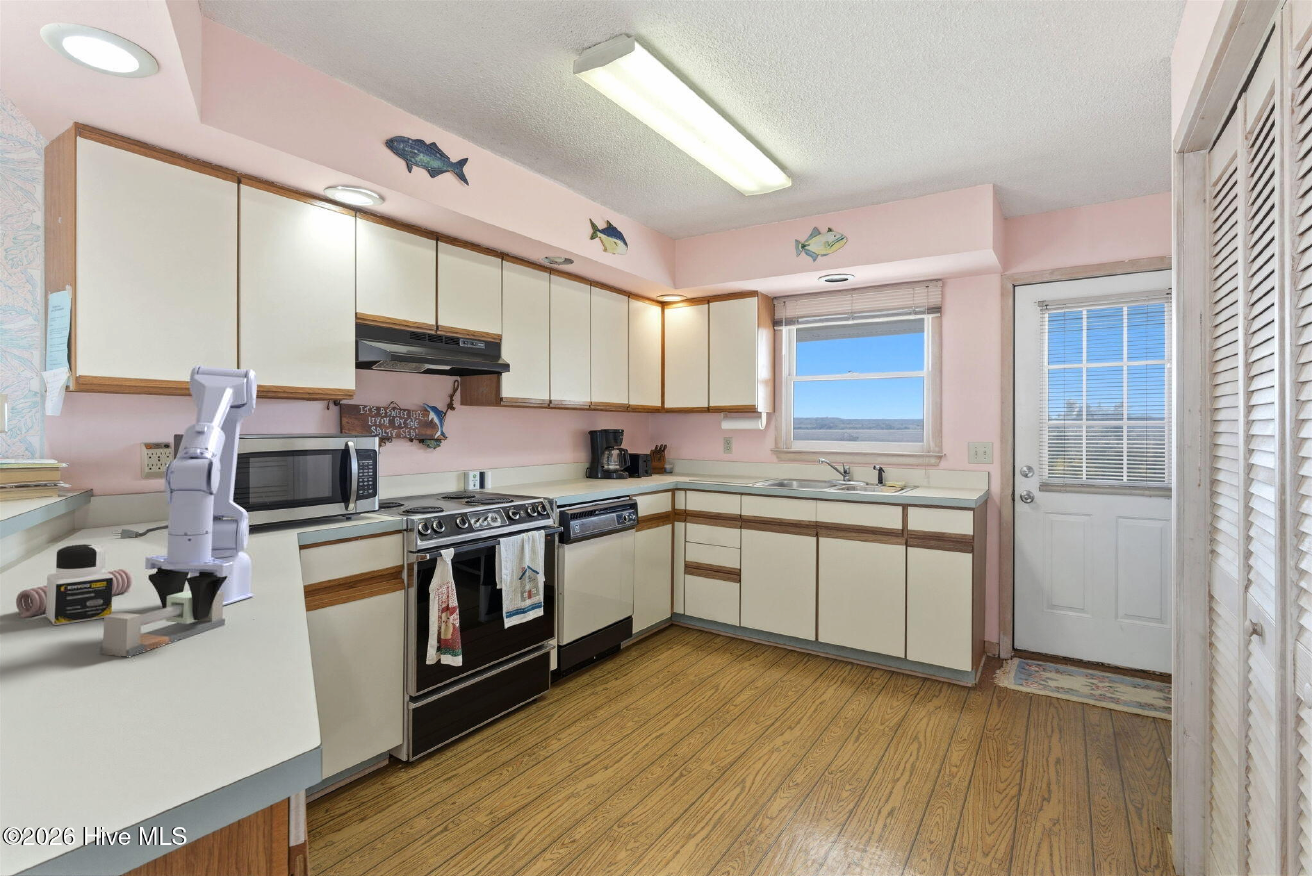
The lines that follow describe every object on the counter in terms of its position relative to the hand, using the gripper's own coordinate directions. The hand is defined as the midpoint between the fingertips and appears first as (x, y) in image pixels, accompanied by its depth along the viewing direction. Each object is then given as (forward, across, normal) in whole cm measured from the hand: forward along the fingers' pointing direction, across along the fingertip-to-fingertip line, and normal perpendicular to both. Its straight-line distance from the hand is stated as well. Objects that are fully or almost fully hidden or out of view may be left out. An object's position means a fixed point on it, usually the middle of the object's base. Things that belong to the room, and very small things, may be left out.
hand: (186, 616), depth 100 cm
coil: (+3, -30, +7) cm, 31 cm away
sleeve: (0, 0, 0) cm, 0 cm away
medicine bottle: (+3, -22, +1) cm, 22 cm away
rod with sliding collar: (+2, 0, -3) cm, 4 cm away
